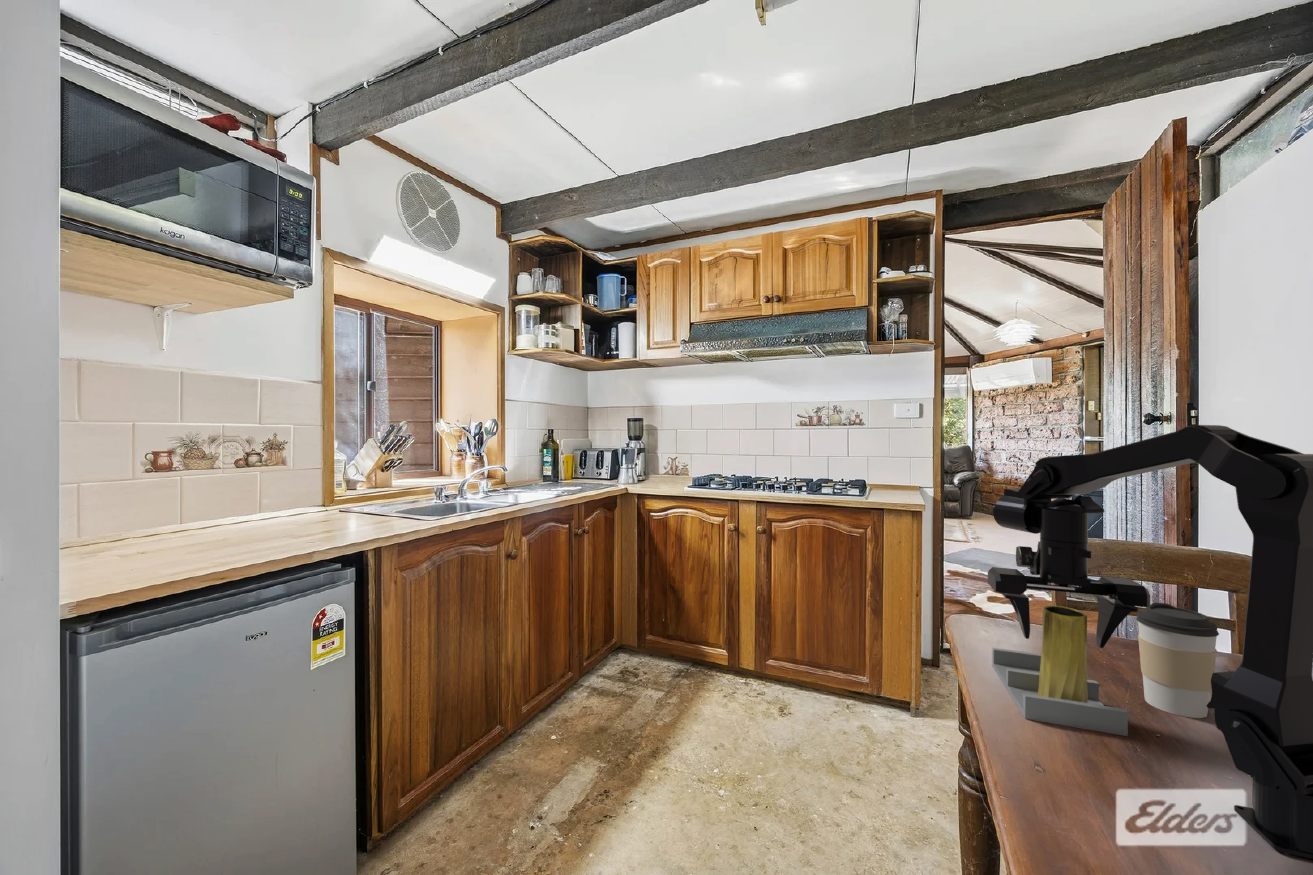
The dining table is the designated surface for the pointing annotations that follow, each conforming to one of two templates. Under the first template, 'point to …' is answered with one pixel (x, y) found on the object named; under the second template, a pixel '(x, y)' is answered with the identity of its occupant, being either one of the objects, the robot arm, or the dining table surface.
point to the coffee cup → (1177, 658)
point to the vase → (1064, 654)
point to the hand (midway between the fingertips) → (1062, 642)
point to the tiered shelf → (1023, 686)
